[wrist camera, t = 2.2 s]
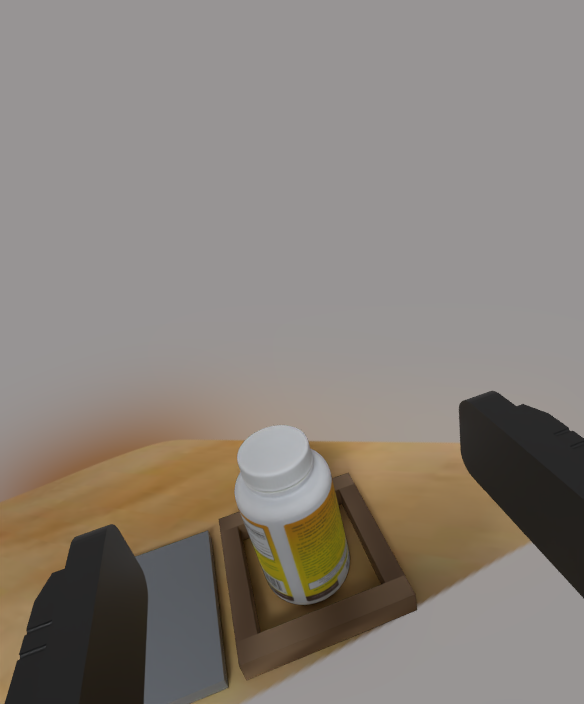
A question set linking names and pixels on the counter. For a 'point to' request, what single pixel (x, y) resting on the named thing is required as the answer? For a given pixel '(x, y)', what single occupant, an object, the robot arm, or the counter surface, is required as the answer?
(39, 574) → the counter surface
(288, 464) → the supplement bottle
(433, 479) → the counter surface
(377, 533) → the pocket frame
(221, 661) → the slate coaster
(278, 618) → the counter surface
